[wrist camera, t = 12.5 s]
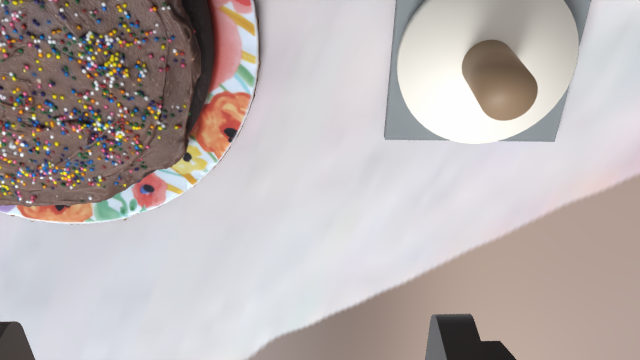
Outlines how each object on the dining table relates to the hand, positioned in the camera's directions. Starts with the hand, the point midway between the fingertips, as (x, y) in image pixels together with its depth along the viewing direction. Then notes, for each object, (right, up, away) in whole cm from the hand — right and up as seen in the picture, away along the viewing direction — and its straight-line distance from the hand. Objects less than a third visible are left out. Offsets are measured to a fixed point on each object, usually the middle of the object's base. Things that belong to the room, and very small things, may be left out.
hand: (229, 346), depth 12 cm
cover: (+12, +11, +26) cm, 31 cm away
